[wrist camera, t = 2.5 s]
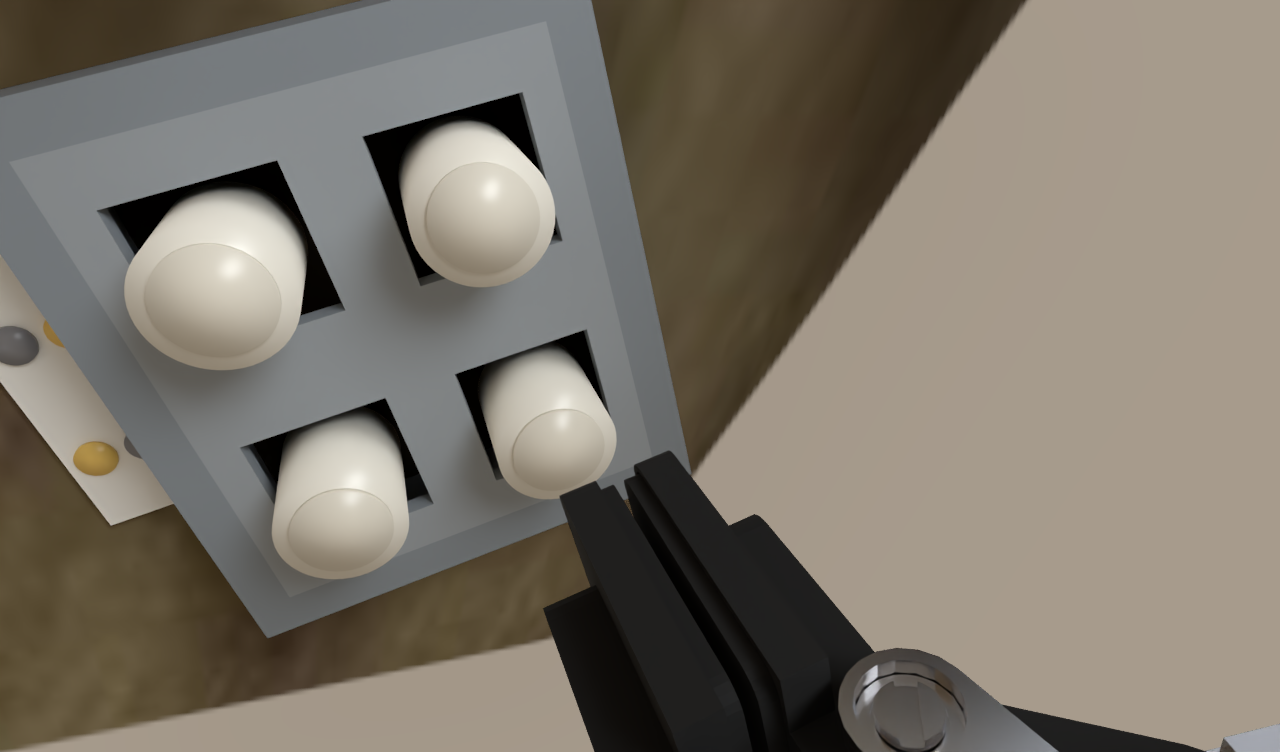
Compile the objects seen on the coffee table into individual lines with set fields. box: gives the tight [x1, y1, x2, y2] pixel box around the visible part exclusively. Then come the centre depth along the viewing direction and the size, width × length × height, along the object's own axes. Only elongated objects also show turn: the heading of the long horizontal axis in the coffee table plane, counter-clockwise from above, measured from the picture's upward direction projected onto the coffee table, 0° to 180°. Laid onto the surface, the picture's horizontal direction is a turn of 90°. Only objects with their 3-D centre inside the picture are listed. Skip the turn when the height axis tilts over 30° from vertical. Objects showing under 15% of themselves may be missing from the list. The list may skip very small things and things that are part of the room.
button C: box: [124, 181, 308, 370], centre depth 22 cm, size 4×4×5 cm
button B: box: [478, 341, 617, 499], centre depth 28 cm, size 4×4×5 cm
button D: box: [272, 406, 409, 579], centre depth 27 cm, size 4×4×5 cm
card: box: [0, 255, 174, 526], centre depth 28 cm, size 4×11×1 cm, turn 12°
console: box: [0, 0, 691, 638], centre depth 28 cm, size 18×20×5 cm
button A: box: [398, 116, 555, 287], centre depth 24 cm, size 4×4×5 cm
